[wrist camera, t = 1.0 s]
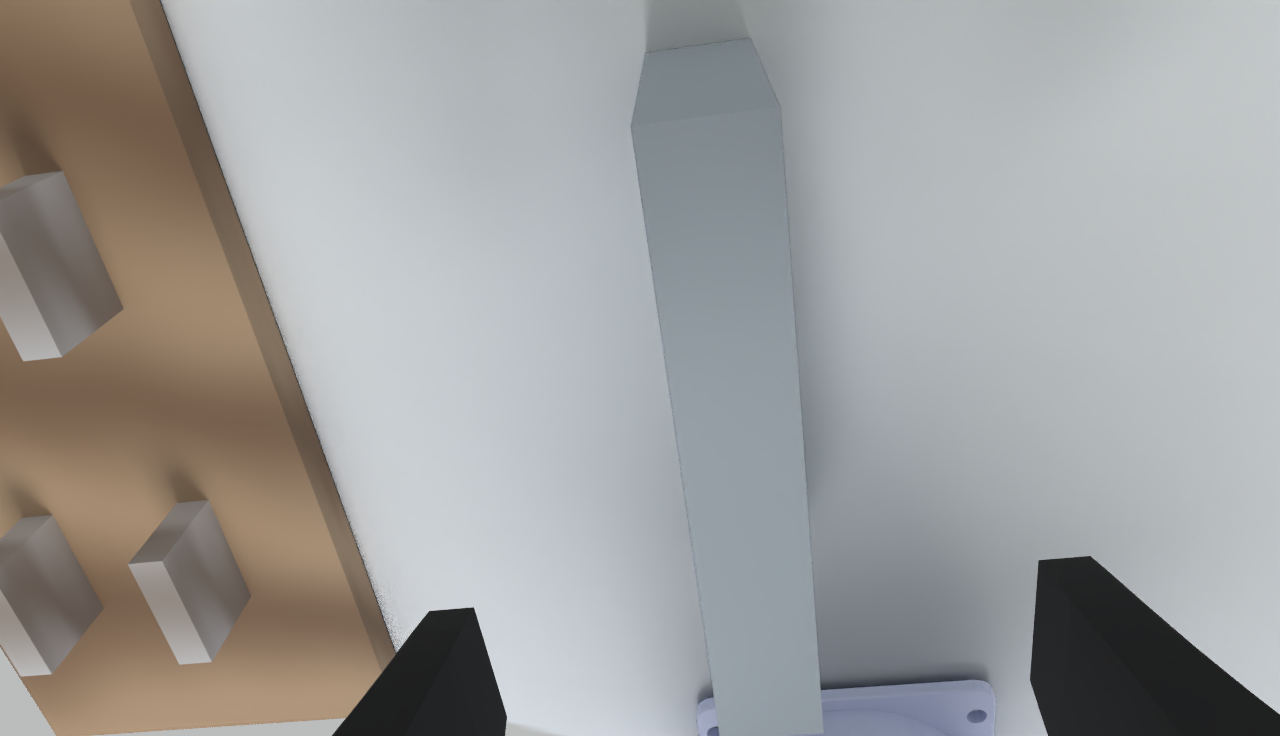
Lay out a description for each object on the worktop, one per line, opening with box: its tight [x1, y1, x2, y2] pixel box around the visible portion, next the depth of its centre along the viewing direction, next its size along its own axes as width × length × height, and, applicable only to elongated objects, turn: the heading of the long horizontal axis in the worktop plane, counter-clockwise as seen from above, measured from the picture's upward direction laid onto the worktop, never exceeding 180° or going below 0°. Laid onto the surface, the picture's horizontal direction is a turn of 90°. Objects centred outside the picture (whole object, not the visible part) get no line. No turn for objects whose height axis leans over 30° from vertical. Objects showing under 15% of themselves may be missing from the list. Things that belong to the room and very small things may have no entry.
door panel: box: [631, 38, 824, 736], centre depth 18 cm, size 12×2×6 cm, turn 8°
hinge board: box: [0, 0, 396, 736], centre depth 20 cm, size 20×10×3 cm, turn 8°
